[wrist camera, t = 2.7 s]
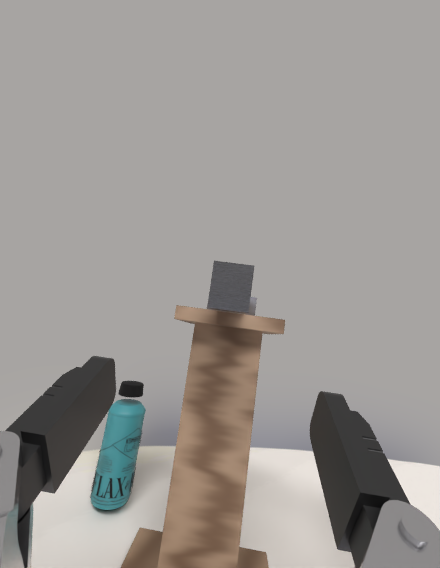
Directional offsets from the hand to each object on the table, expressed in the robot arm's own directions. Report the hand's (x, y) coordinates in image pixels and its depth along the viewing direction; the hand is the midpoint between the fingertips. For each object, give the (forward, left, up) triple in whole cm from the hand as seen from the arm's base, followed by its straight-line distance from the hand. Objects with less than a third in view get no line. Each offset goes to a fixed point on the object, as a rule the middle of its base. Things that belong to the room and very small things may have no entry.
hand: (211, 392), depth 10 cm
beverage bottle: (+16, -38, -29) cm, 50 cm away
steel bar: (0, -18, +5) cm, 19 cm away
